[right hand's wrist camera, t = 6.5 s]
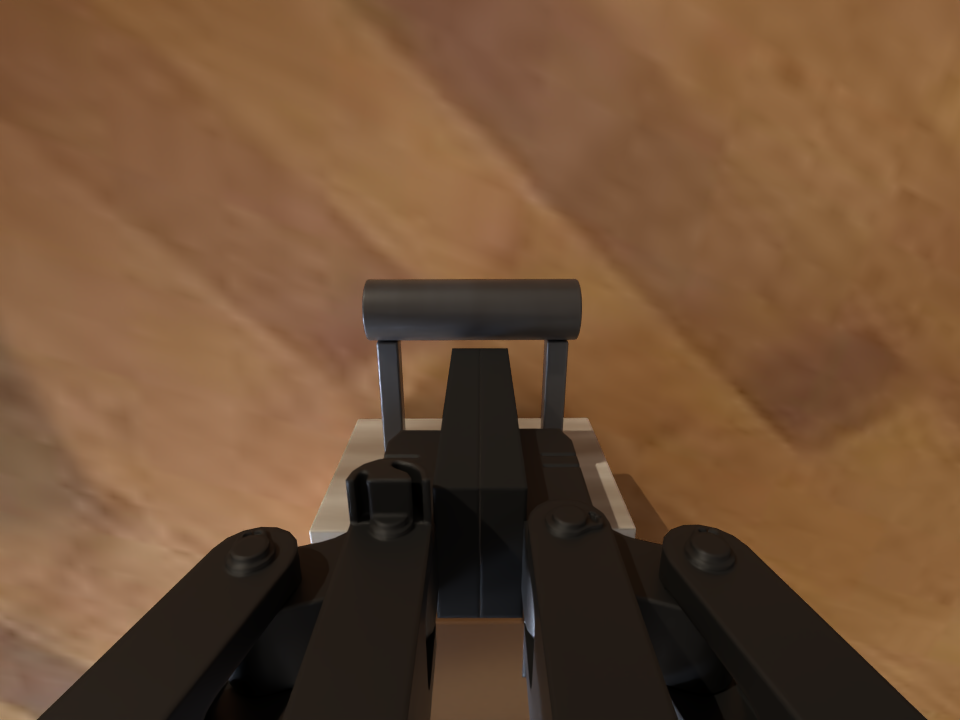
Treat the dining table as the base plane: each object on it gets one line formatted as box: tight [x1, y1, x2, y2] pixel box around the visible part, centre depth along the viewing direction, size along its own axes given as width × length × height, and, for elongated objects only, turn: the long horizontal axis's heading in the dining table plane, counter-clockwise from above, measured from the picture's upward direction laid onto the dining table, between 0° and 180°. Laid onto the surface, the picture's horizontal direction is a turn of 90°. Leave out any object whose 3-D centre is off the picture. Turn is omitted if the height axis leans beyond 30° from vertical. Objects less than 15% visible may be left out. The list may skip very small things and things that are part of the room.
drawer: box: [309, 279, 636, 544], centre depth 19 cm, size 25×8×6 cm, turn 0°
